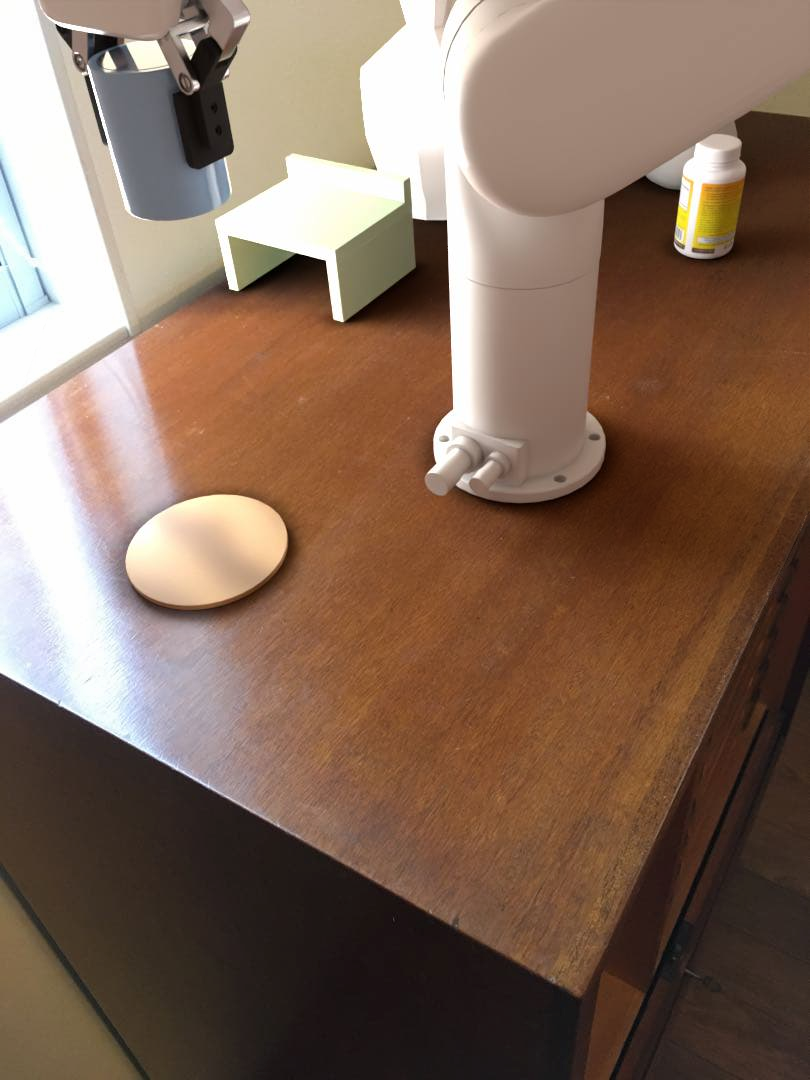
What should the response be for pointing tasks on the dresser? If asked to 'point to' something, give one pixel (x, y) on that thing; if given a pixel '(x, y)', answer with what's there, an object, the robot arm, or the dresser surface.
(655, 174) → the toy character
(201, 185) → the cup
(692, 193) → the supplement bottle
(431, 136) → the vase
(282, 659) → the dresser surface
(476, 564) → the dresser surface
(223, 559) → the coaster
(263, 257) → the shelf
